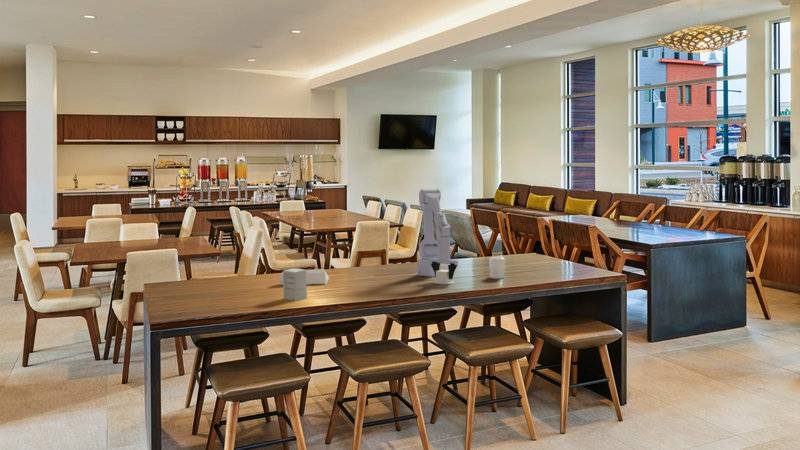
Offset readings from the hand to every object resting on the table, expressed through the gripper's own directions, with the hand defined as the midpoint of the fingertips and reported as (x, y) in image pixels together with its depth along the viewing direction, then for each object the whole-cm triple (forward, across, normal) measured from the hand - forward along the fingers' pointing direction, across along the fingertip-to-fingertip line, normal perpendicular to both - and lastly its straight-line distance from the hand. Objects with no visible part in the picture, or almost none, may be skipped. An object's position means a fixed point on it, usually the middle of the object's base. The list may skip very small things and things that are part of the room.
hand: (444, 278), depth 348 cm
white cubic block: (+2, 0, 0) cm, 2 cm away
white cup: (+2, +16, +25) cm, 30 cm away
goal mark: (+2, 0, 0) cm, 2 cm away
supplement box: (+2, -36, -66) cm, 75 cm away
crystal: (+2, -55, -38) cm, 67 cm away
